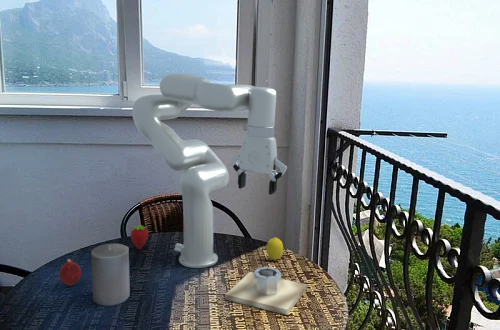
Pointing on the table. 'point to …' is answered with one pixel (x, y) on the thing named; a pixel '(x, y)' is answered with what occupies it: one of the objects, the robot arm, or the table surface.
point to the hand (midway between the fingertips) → (256, 190)
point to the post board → (275, 302)
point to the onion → (70, 273)
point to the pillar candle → (110, 274)
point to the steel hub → (267, 281)
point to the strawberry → (139, 236)
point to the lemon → (274, 248)
